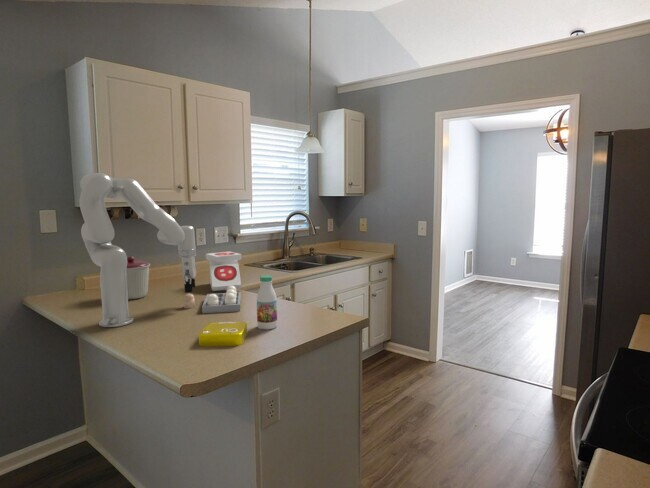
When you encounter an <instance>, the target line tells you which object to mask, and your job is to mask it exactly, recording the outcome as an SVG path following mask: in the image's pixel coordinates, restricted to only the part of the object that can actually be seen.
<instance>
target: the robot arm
mask: <svg viewBox="0 0 650 488" xmlns="http://www.w3.org/2000/svg"><path fill="white" fill-rule="evenodd" d="M79 184H80V185H79V186H80V189H81V192H80V195H79V204H78V205H79V208H80V212H81V215H82V218H83V221H84V223H83V224H82V226H81V229H80V235H81V238H82V240H83V243H84V245H85V248H86V250H87V253H88V255H89V257H90V259H91V261H92V263H93V264H95V265H96V266H97V267H100V272H99V286H100V296H101V298H100V299H101V311H102V319H101V320H99V322H98V325H99V327H100V328H101V327H102V328H117V327H122V326H126V325H129V324H131V323H133V322H134V317H133V316H130V312H129V299H128V293H127V279H126V268H127V257H128V256H127V253H126V252H125V250H124V249H123V248H122V247H120V246H118V245H114V244H112V241H113V239H114V238H115V236H116V235H115V229H114V226H113V223H112V221H111V219H110V216H109V213H108V211H107V207H106V198H107V199H114V200H115V199H117V200H124V201H125V202H126V203H127V204H128V206H129V207H130V208H131V209H132V210H133V212H135V213H136V215H137V216H138V217H139V218H141V219H142V220H143V221H145V222H147V223H150V224H151V225H153V226H154V227H156V228H157V229H158V230H159V231H157V234H156V235H157V236H156V237H157V240H158V241H159V242H160V243H163V244H166V245H173V246H177V249H178V251H177V252H178V257H179V258H181V272H182V278H183V280H184V285H183V286H184V293H186V294H189V293H190V294H192V293H193V292H194V290H193V288H195V287H196V279H195V278H196V277H197V266H196V265H197V264H196V260H195V259H196V258H195V257H196V256H197V250H196V249H197V248H196V247H197V246H196V235H195V228H194V227H193V226H192V225H182V226H181V225H179V223H178V222H177V221H176V220H175V218H173V217H172V216H171V215H170V214H169V213H167V212H166V211H165V210H164V209H163V208H162V207H160V206H159V205H158V204H157V203H156V202H155V201H154V199H153V198H151V196H150V195H149V193H148V192H147V191H146V190H145V189H144V188H143V187H142V185H141V184H140V183H139V182H138V181H137V180H135V179H134V178H129V177H127V178H117V177H111V176H109V175H108V174H106V173H102V172H95V173H88V174H86V175H84V176H83V177H82V178H81V180H80V183H79Z"/></svg>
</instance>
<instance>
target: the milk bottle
mask: <svg viewBox="0 0 650 488" xmlns="http://www.w3.org/2000/svg"><path fill="white" fill-rule="evenodd" d="M259 277H260V278H259V283H260V285H259V286H260V288H259V290H258V292H257V295H256V322H257V323H256V325H257V328H258V329H259V330H273V329H276V328H277V326H278V300H277V299H278V298H277V294H276V292H275V289H274V286H273V277H272V275H261V276H259Z"/></svg>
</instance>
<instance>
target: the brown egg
mask: <svg viewBox="0 0 650 488" xmlns="http://www.w3.org/2000/svg"><path fill="white" fill-rule="evenodd" d="M195 299H196V298H195V296H194V294H193V293H186V294H185V295H184V296H183V307H184V309H186V310H187V309H194V308H196V300H195Z"/></svg>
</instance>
